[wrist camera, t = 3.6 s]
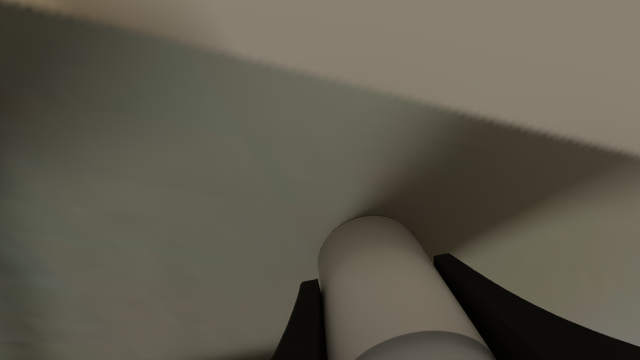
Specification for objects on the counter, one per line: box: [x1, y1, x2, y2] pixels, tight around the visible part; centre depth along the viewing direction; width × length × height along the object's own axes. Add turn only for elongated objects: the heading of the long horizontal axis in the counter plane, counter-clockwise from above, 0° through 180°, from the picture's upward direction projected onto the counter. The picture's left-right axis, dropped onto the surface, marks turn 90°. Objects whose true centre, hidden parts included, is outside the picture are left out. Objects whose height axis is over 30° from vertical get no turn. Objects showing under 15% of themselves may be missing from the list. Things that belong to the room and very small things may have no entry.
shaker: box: [318, 216, 496, 360], centre depth 11 cm, size 5×5×7 cm
